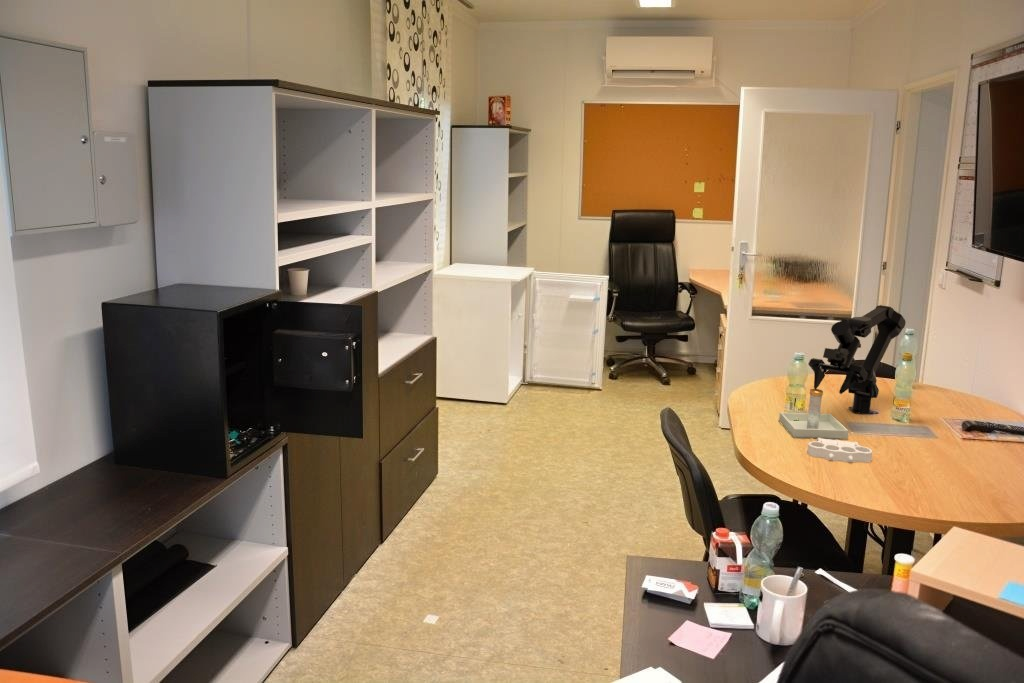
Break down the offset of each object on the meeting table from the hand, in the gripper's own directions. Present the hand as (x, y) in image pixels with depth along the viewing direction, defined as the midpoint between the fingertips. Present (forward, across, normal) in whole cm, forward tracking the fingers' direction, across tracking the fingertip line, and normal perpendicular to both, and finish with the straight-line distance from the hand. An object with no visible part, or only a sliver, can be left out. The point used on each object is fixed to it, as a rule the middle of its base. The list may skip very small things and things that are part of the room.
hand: (827, 390), depth 268 cm
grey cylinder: (+13, -1, +3) cm, 13 cm away
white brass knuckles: (+24, +17, -6) cm, 29 cm away
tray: (+14, -1, +3) cm, 14 cm away
